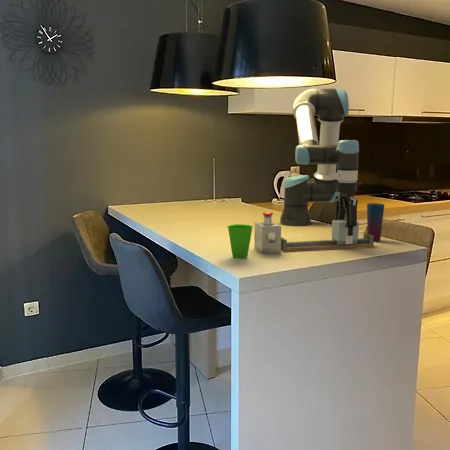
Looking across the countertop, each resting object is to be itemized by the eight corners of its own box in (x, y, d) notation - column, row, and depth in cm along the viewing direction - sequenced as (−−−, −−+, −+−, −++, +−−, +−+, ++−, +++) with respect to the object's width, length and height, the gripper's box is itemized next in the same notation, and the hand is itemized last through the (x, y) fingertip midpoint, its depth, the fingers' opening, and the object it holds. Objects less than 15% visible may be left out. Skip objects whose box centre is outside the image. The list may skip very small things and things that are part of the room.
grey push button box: (254, 248, 188) (254, 222, 187) (271, 247, 190) (272, 221, 188) (262, 254, 178) (263, 227, 177) (281, 253, 180) (281, 226, 178)
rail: (278, 248, 188) (278, 236, 188) (365, 244, 196) (366, 233, 196) (284, 251, 183) (284, 240, 182) (373, 247, 191) (373, 235, 190)
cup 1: (248, 261, 168) (248, 229, 166) (223, 259, 171) (223, 227, 170) (256, 255, 176) (256, 225, 175) (232, 253, 180) (232, 223, 178)
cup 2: (384, 239, 205) (386, 203, 202) (379, 242, 199) (381, 205, 197) (368, 238, 208) (370, 202, 206) (362, 240, 203) (364, 204, 200)
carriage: (331, 241, 193) (332, 220, 192) (350, 241, 195) (351, 219, 193) (338, 245, 187) (339, 222, 186) (357, 244, 189) (358, 221, 188)
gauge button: (261, 233, 185) (261, 212, 183) (270, 232, 185) (270, 211, 184) (264, 234, 181) (264, 213, 180) (273, 234, 182) (274, 213, 181)
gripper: (326, 179, 195) (324, 237, 199) (349, 184, 177) (347, 247, 181) (344, 179, 197) (342, 237, 201) (368, 183, 179) (365, 246, 183)
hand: (344, 242), depth 191 cm, fingers closed on carriage, 6 cm apart
